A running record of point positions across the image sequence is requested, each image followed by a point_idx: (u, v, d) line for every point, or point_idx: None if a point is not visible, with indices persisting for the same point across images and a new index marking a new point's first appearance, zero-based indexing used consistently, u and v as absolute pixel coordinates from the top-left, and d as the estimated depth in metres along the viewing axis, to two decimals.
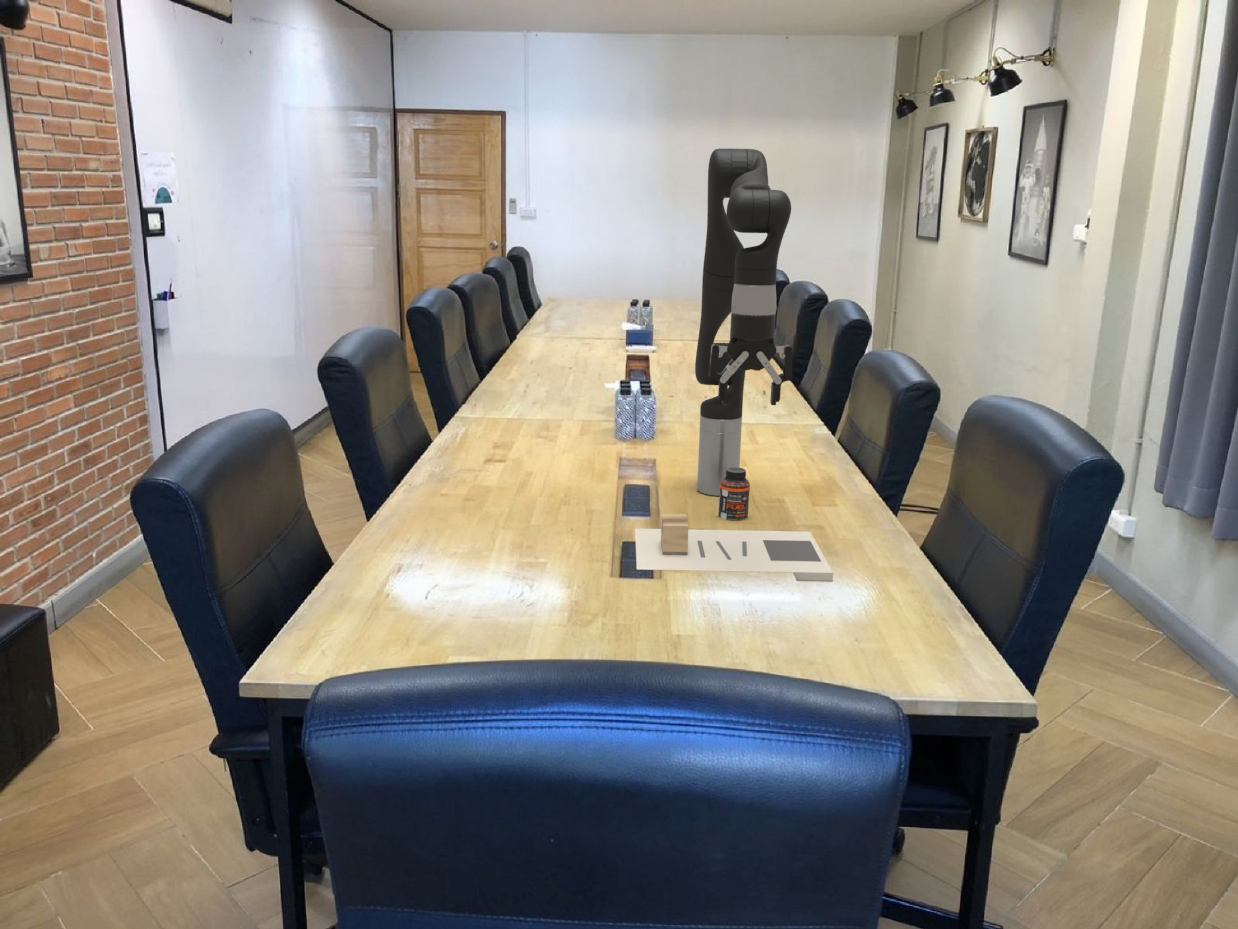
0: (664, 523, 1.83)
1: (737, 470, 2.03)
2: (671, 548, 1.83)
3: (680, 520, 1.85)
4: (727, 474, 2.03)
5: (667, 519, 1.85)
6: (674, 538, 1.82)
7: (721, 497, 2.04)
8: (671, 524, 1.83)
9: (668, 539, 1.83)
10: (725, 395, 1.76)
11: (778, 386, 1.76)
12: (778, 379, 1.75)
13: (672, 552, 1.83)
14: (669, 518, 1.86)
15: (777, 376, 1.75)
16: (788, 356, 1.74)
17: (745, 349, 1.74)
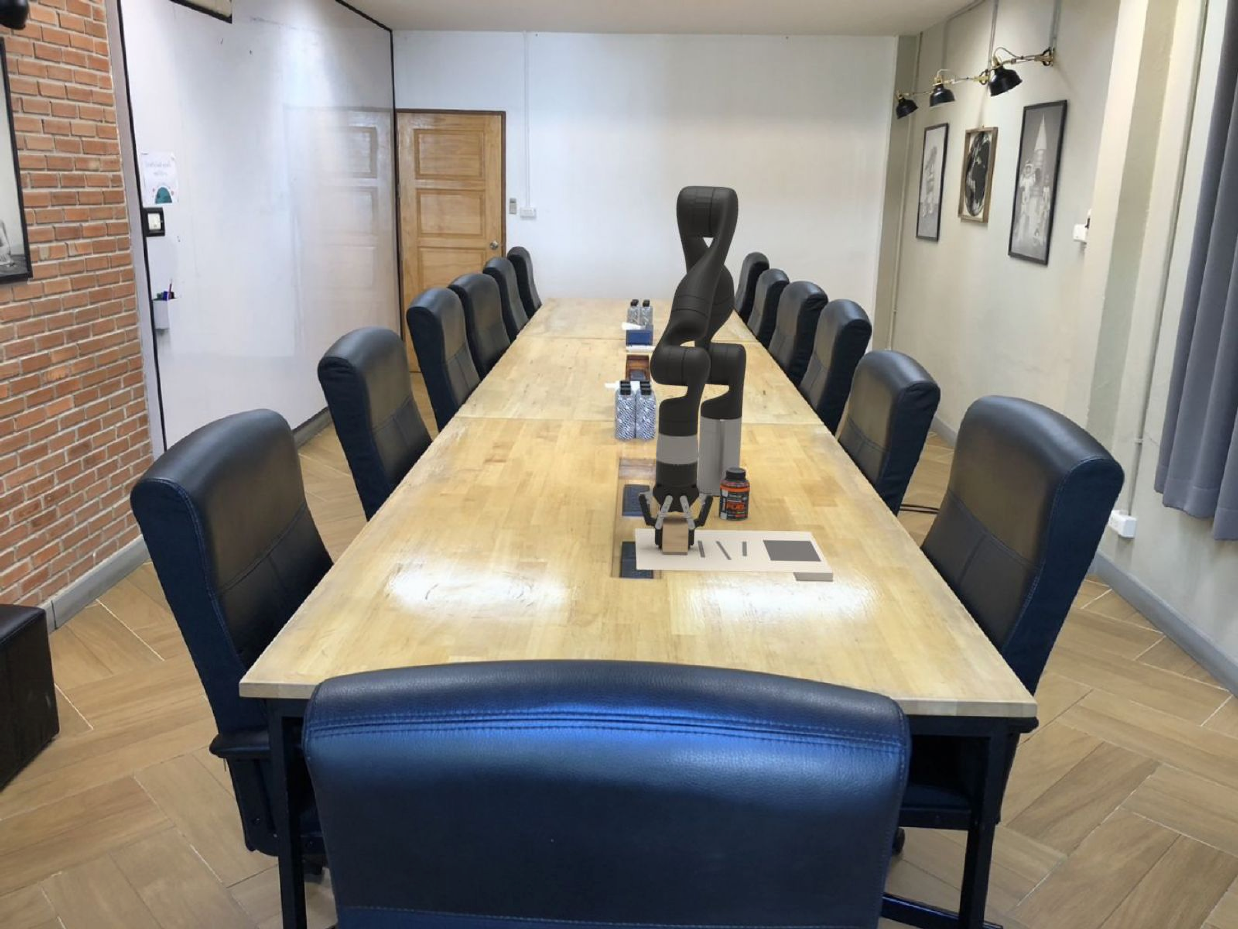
0: (664, 523, 1.83)
1: (737, 470, 2.03)
2: (671, 548, 1.83)
3: (680, 520, 1.85)
4: (727, 474, 2.03)
5: (667, 519, 1.85)
6: (674, 538, 1.82)
7: (721, 497, 2.04)
8: (671, 524, 1.83)
9: (668, 539, 1.83)
10: (660, 540, 1.85)
11: (692, 531, 1.85)
12: (691, 525, 1.84)
13: (672, 552, 1.83)
14: (669, 518, 1.86)
15: (692, 522, 1.84)
16: (707, 505, 1.83)
17: (668, 493, 1.83)
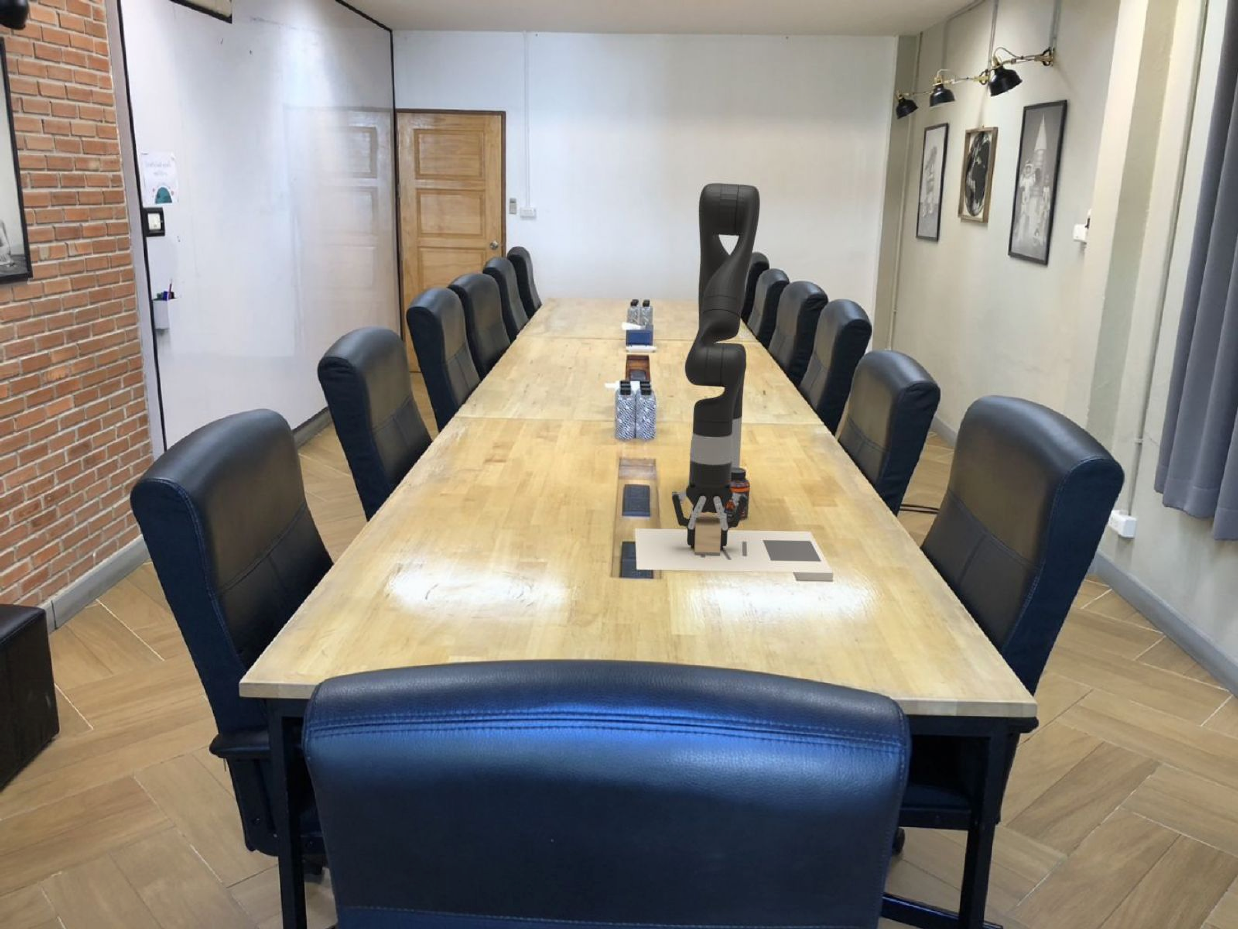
0: (697, 523, 1.83)
1: (737, 470, 2.03)
2: (703, 548, 1.83)
3: (713, 521, 1.85)
4: None
5: (700, 520, 1.85)
6: (707, 539, 1.83)
7: None
8: (704, 524, 1.83)
9: (701, 540, 1.83)
10: (693, 540, 1.85)
11: (725, 532, 1.85)
12: (725, 526, 1.84)
13: (704, 552, 1.83)
14: (701, 518, 1.86)
15: (725, 523, 1.84)
16: (741, 506, 1.83)
17: (701, 493, 1.83)
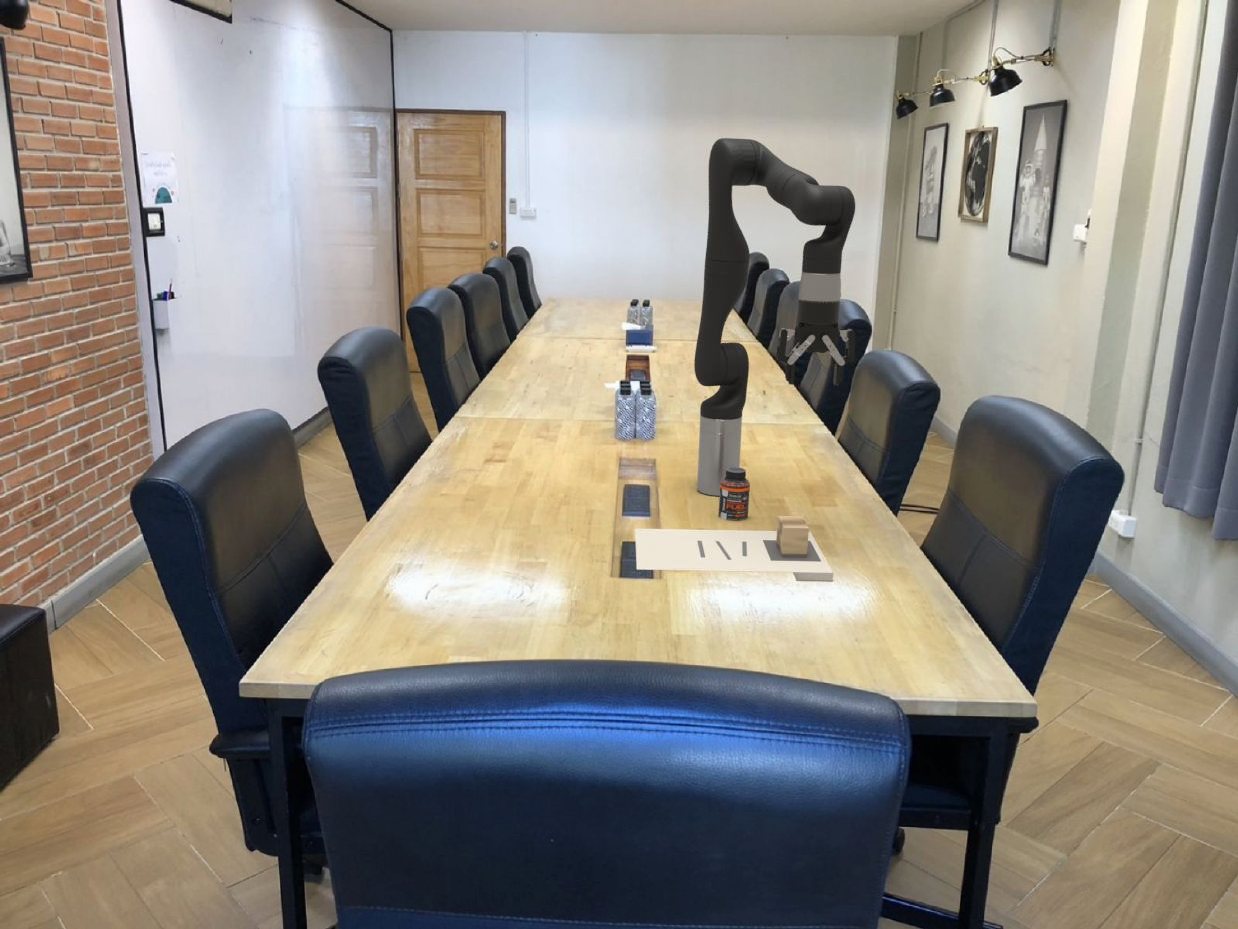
0: (783, 525, 1.83)
1: (737, 470, 2.03)
2: (791, 550, 1.83)
3: (799, 522, 1.85)
4: (727, 474, 2.03)
5: (785, 521, 1.85)
6: (794, 540, 1.83)
7: (721, 497, 2.04)
8: (791, 526, 1.83)
9: (788, 541, 1.83)
10: (792, 376, 1.90)
11: (841, 367, 1.90)
12: (841, 361, 1.89)
13: (791, 554, 1.83)
14: (786, 520, 1.86)
15: (841, 358, 1.89)
16: (851, 339, 1.88)
17: (811, 333, 1.88)
